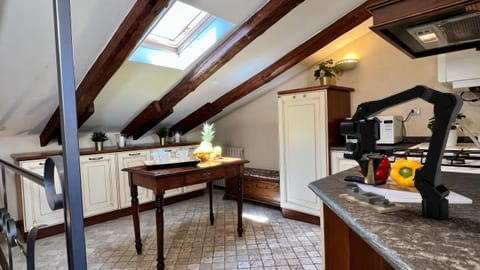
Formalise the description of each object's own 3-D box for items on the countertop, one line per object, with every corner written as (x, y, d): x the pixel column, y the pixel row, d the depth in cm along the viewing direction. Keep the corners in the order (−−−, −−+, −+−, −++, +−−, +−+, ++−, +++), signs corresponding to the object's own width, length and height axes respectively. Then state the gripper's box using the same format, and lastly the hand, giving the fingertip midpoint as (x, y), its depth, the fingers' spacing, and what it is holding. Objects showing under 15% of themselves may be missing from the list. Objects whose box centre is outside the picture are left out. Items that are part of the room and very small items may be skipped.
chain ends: (398, 205, 95) (398, 196, 95) (381, 208, 93) (380, 199, 93) (359, 193, 113) (359, 185, 113) (344, 195, 111) (344, 187, 111)
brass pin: (369, 181, 105) (368, 158, 104) (375, 183, 102) (375, 159, 101) (362, 182, 104) (362, 159, 103) (368, 184, 101) (368, 160, 100)
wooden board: (405, 209, 94) (405, 206, 94) (380, 213, 91) (380, 210, 91) (360, 194, 115) (360, 191, 115) (338, 197, 112) (338, 194, 112)
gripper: (371, 133, 112) (373, 170, 113) (333, 136, 107) (335, 175, 108) (394, 134, 102) (395, 175, 102) (352, 137, 96) (354, 180, 97)
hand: (369, 176), depth 103 cm, fingers closed on brass pin, 3 cm apart
